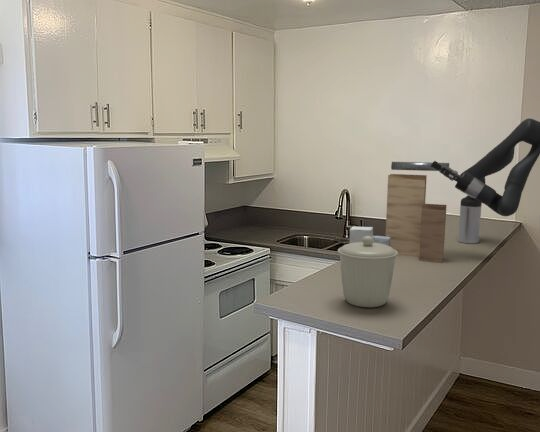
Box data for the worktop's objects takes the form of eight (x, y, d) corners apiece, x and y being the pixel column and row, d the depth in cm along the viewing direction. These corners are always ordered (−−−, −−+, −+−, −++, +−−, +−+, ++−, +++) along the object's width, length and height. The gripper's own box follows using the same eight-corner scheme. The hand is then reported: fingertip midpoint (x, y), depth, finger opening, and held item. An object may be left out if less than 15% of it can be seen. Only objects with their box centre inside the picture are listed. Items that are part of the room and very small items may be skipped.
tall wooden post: (420, 256, 233) (423, 203, 229) (443, 258, 230) (446, 204, 226) (419, 260, 227) (421, 205, 223) (442, 262, 224) (445, 207, 220)
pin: (392, 169, 237) (392, 161, 237) (449, 171, 229) (449, 162, 229) (391, 170, 234) (391, 161, 234) (448, 171, 226) (449, 163, 226)
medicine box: (390, 257, 232) (390, 236, 231) (387, 259, 228) (388, 238, 227) (371, 255, 235) (372, 235, 234) (368, 257, 231) (369, 237, 230)
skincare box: (372, 266, 217) (374, 226, 215) (370, 270, 211) (371, 230, 209) (351, 264, 220) (352, 225, 217) (348, 268, 214) (349, 228, 211)
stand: (387, 250, 245) (390, 173, 240) (422, 252, 240) (426, 175, 235) (384, 253, 239) (388, 175, 233) (420, 256, 234) (425, 176, 228)
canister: (403, 311, 165) (406, 242, 162) (343, 313, 164) (345, 242, 160) (385, 293, 183) (388, 230, 179) (331, 294, 181) (333, 230, 178)
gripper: (475, 175, 231) (438, 154, 235) (475, 179, 218) (436, 156, 222) (465, 191, 234) (429, 169, 237) (464, 195, 221) (425, 172, 224)
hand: (432, 163), depth 230 cm, fingers closed on pin, 3 cm apart
